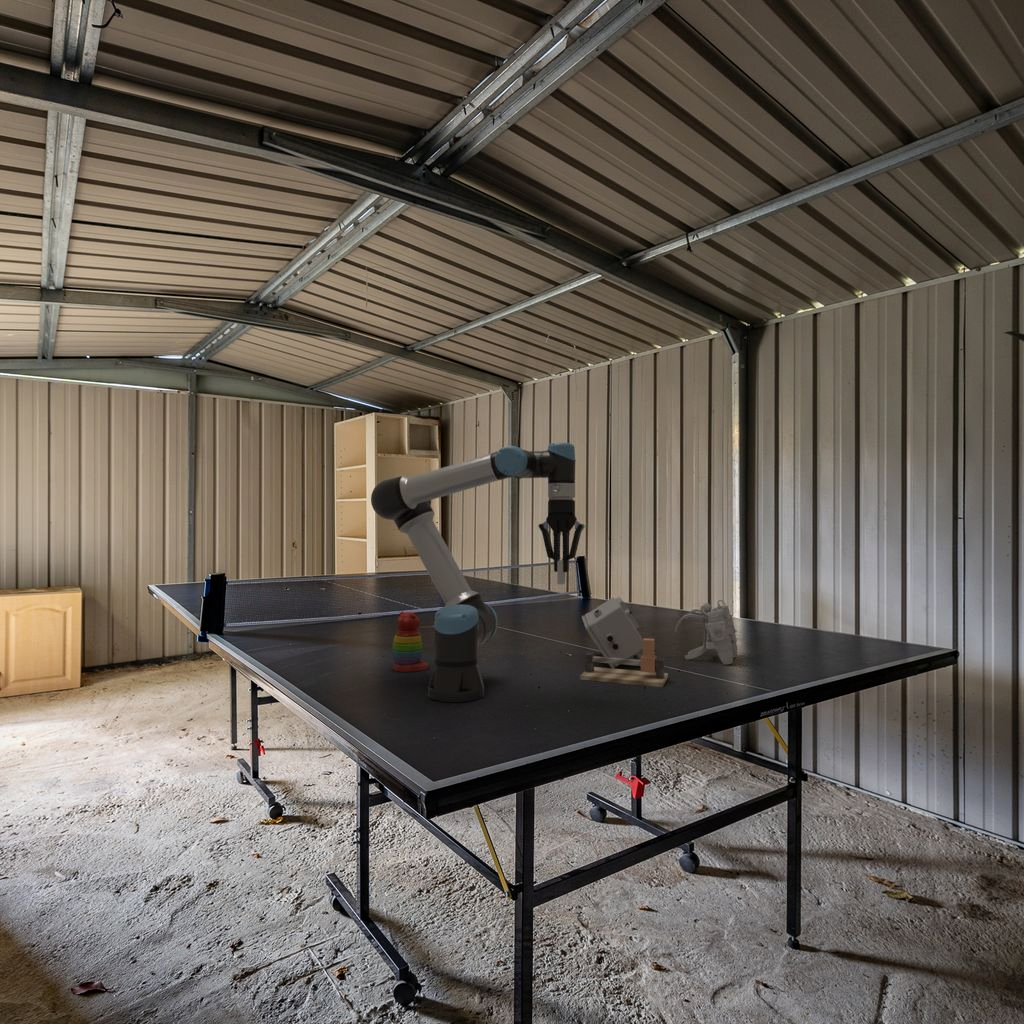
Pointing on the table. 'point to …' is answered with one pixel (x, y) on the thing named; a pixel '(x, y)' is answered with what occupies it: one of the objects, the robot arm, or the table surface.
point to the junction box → (614, 630)
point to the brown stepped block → (648, 656)
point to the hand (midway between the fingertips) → (561, 583)
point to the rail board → (623, 672)
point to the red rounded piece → (408, 645)
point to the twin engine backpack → (715, 632)
